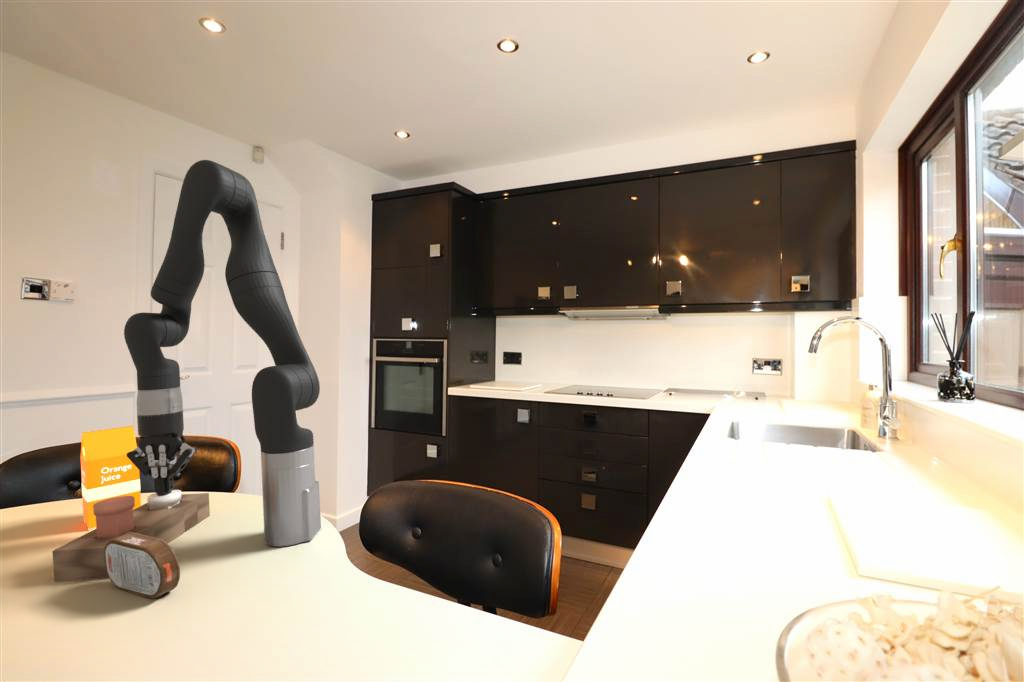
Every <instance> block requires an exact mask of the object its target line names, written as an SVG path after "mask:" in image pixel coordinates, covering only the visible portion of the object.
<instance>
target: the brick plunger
mask: <svg viewBox="0 0 1024 682" xmlns="http://www.w3.org/2000/svg"><path fill="white" fill-rule="evenodd" d="M133 507H135V497H134V496H120V497H114V498H109V499H106V500H102V501H99V502H97V503H95V504H94V505H93V514H94V515H95V516H96V531H97V538H105V537H119V536H121V535H123V534H125V533H127V532H128V531H130V530H132V529H134V518H133Z"/></svg>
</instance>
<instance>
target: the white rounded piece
mask: <svg viewBox="0 0 1024 682" xmlns="http://www.w3.org/2000/svg"><path fill="white" fill-rule="evenodd" d="M181 495H182V490H180V489H173V490H172V491H171V493H169V494H167V495H165V496H158V495H157V493H156V492H155V493H151V494H150V495H148V496H147V498H146V501H147V502H146V503H148V506H150V510H153V509H169V508H171V507H173V506H175V505H176V504H178V503H180V500H181V499H182V497H181Z"/></svg>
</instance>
